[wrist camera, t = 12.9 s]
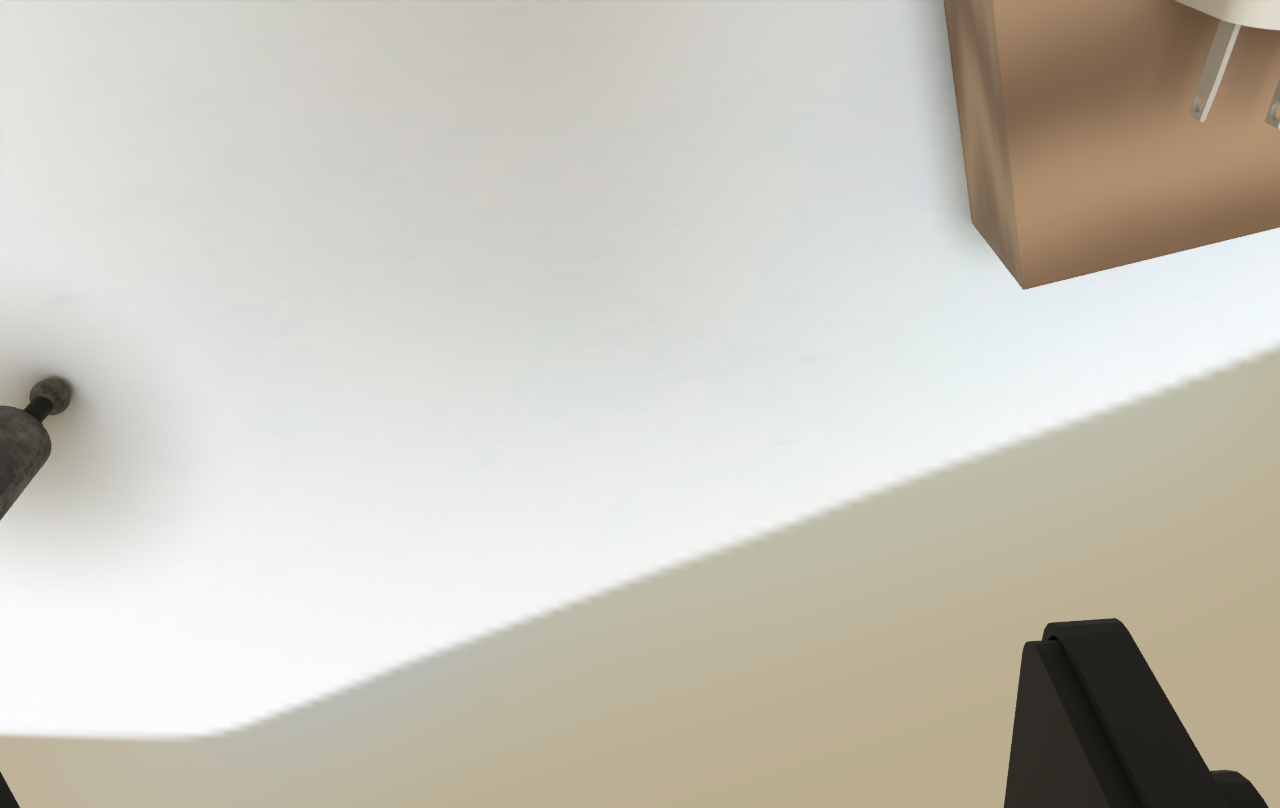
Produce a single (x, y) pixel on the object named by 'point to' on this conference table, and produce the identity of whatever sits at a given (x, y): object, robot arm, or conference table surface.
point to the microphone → (27, 439)
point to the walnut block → (1109, 132)
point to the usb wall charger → (1231, 45)
